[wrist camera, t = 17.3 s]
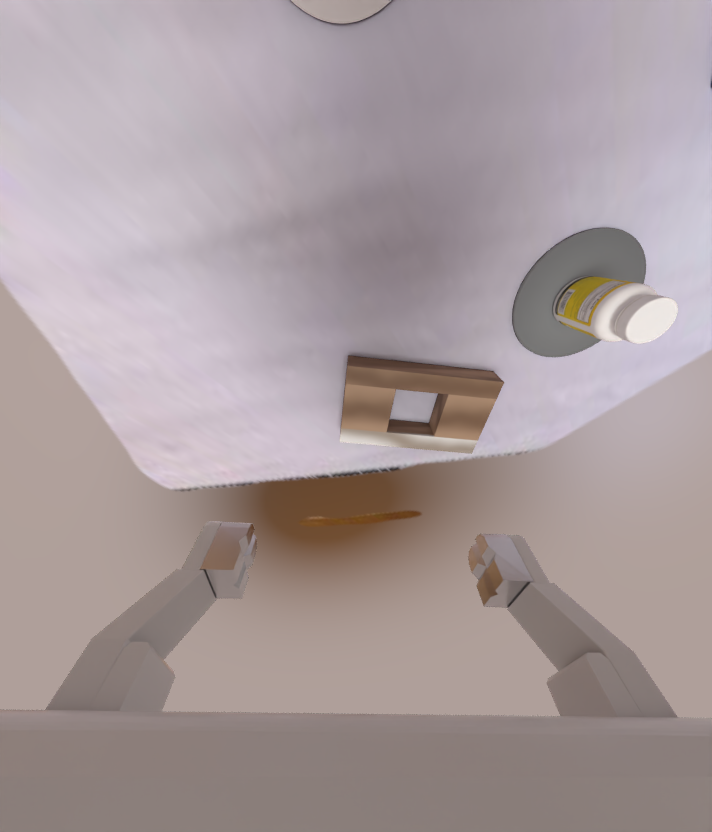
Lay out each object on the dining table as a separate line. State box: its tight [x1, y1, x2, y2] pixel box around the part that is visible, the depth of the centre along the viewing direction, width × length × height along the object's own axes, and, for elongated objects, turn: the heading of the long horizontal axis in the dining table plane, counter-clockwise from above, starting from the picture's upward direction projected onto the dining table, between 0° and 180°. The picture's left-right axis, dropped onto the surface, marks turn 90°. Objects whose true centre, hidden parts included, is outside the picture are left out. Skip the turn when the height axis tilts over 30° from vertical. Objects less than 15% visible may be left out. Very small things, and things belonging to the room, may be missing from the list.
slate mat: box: [512, 228, 646, 357], centre depth 32 cm, size 14×14×1 cm
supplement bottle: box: [553, 276, 678, 344], centre depth 28 cm, size 5×5×10 cm
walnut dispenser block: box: [340, 356, 504, 454], centre depth 39 cm, size 12×20×3 cm, turn 83°
